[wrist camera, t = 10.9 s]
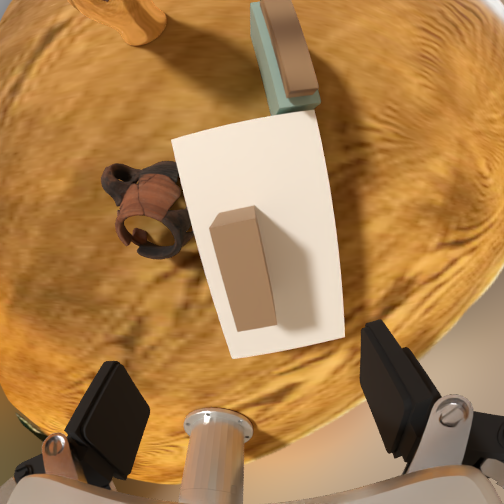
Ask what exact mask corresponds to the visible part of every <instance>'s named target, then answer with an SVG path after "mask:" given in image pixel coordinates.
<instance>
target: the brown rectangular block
mask: <svg viewBox="0 0 504 504" xmlns="http://www.w3.org/2000/svg"><path fill="white" fill-rule="evenodd" d="M260 7H261V10H262V14H263V17H264V20H265V23H266V26H267V29H268V33H269V36H270V39H271V43H272V46H273V50H274V53H275V57H276V60H277V64H278V68H279V71H280V75H281V79H282V83H283V87H284V91H285V95H286V98H292V97H300V96H308V95H313V94H314V93H315V92H316V91H317V90H318V88H319V86H318V82H317V78H316V74H315V71H314V67H313V64H312V61H311V57H310V54H309V51H308V47H307V44H306V41H305V38H304V35H303V32H302V29H301V26H300V23H299V20H298V18H297V15H296V12H295V9H294V7H293V4H292V1H291V0H260Z"/></svg>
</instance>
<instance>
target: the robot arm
mask: <svg viewBox="0 0 504 504" xmlns="http://www.w3.org/2000/svg"><path fill="white" fill-rule="evenodd" d="M360 384H361V387H362V390H363V392H364V395H365V397H366V399H367V402H368V404H369V407H370V409H371V412H372V414H373V417H374V419H375V422H376V424H377V427H378V429H379V432H380V435H381V437H382V440H383V442H384V445H385V448H386V451H387V452H388V453H389V454H390V453H393V455H394V458H398V457H400V456H402V457H403V459H404V461H405V462H407V464H406V467H405V469H404V471H403V473H402V475H401V476H397V477H395V478H391V479H388V480H385V481H381V482H377V483H374V484H370V485H367V486H363V487H360V488H356V489H352V490H348V491H344V492H340V493H335V494H330V495H325V496H320V497H315V498H309V499H303V500H296V501H289V502H280V503H270V504H502V501H501V500H500V498H499V496H498V494H497V492H496V490H495V488H494V487H493V485H492V484H491V482H490V481H489V479H488V478H492V479H494V480H496V481H497V485H499V486H501V487H502V488H503V489H504V416H498V415H492V414H486V413H480V412H475V411H473V407H472V404H471V402H470V401H469V400H468V399H467V398H465V397H463V396H461V395H457V394H450V395H446V396H444V397H441V395H440V393H439V392H438V390H437V389H436V387H435V386H434V384H433V383H432V381H431V379H430V378H429V376H428V375H427V374H426V372H425V371H424V369H423V368H422V366H421V365H420V363H419V362H418V360H417V359H416V357H415V356H414V355H413V353H412V352H411V350H410V349H409V348H407V347H405V348H401V347H400V345H399V344H398V342H397V341H396V339H395V338H394V337H393V335H392V334H391V332H390V331H389V329H388V328H387V327H386V325H385V324H384V322H383V321H382V320H376V321H373V322H369V323H366V325H365V328H362V329H361V360H360ZM149 415H150V408H149V406H148V404H147V403H146V401H145V400H144V398H143V397H142V395H141V394H140V392H139V390H138V389H137V387H136V386H135V384H134V383H133V381H132V379H131V378H130V376H129V374H128V373H127V371H126V369H125V368H124V366H123V365H122V364H120V363H119V362H118V361H106V362H104V363H103V365H102V366H101V368H100V370H99V371H98V373H97V374H96V376H95V378H94V379H93V381H92V383H91V384H90V386H89V388H88V389H87V391H86V393H85V394H84V396H83V398H82V400H81V401H80V403H79V405H78V407H77V408H76V410H75V412H74V414H73V415H72V417H71V419H70V421H69V423H68V425H67V426H66V428H65V430H64V431H65V432H66V433H67V434H68V436H67V437H66V436H65V435H64V434H62V433H54V434H51V435H50V436H48V437H47V438H46V439H45V441H44V442H43V446H42V454H40V455H38V456H36V457H33V458H31V459H29V460H27V461H25V462H22V463H21V464H19V465H18V466H17V467H16V470H15V473H14V477H12V478H10V479H9V480H8V481H7V482H6V483H4V484H3V485H2V486H1V487H0V504H243V478H244V477H243V476H244V474H243V473H244V443H245V442H247V441H248V440H249V439H250V438H251V437H252V435H253V426H252V423H251V422H250V421H249V420H248V419H247V418H246V417H245V416H243V415H241V414H239V413H237V412H234V411H231V410H227V409H222V408H203V409H198V410H195V411H193V412H191V413H189V414H188V415H187V416H186V418H185V421H184V429H185V431H186V433H187V434H188V435H189V436H190V440H189V445H188V451H187V456H186V461H185V467H184V472H183V478H182V484H181V489H180V495H179V503H178V502H169V501H162V500H156V499H149V498H143V497H138V496H133V495H129V494H124V493H120V492H117V490H116V488H115V486H114V484H113V482H112V477H115V478H117V479H121V480H126V479H127V475H129V474H130V473H131V470H132V467H133V464H134V461H135V457H136V454H137V451H138V448H139V445H140V442H141V439H142V436H143V433H144V430H145V427H146V424H147V421H148V418H149Z"/></svg>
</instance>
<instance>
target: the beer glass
mask: <svg viewBox="0 0 504 504" xmlns="http://www.w3.org/2000/svg"><path fill="white" fill-rule="evenodd" d="M67 1H68V2H69V3H70V4H71V5H72V6H73V7H74V8H76V9H77V10H78V11H79V12H81V13H82V14H84V15H85V16H87V17H88V18H90V19H92V20H94V21H96V22H99V23H101V24H104V25H106V26H109V27H111V28H113V29H115V30H117V31H118V32H119V34H120V35H121V37H122V39H123V40H124V41H125V42H126V43H127V44H129V45H132V46H140V45H144V44H147V43H149V42H151V41H153V40H154V39H156V38H157V37H158V36H159V35H160V34H161V33H162V32H163V30H164V29H165V27H166V23H167V18H166V15H165V13H164V12H163V11H162V10H160V9H159V8H158V7H156V6H155V4H154V3H153V0H67Z"/></svg>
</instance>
